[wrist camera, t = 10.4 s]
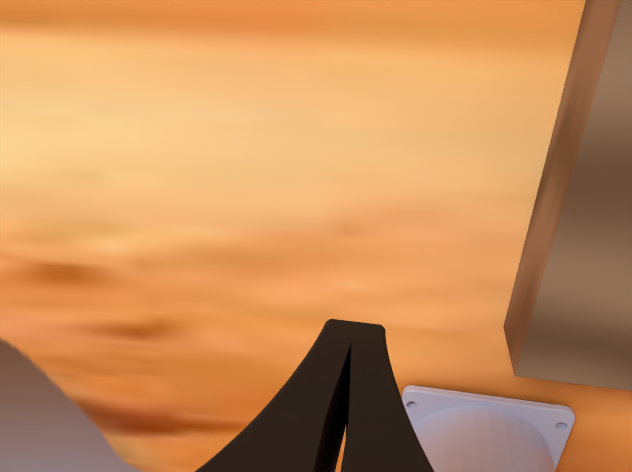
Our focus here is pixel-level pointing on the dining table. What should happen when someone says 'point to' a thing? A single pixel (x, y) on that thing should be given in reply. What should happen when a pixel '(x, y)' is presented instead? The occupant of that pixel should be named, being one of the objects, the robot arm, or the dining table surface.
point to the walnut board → (582, 221)
